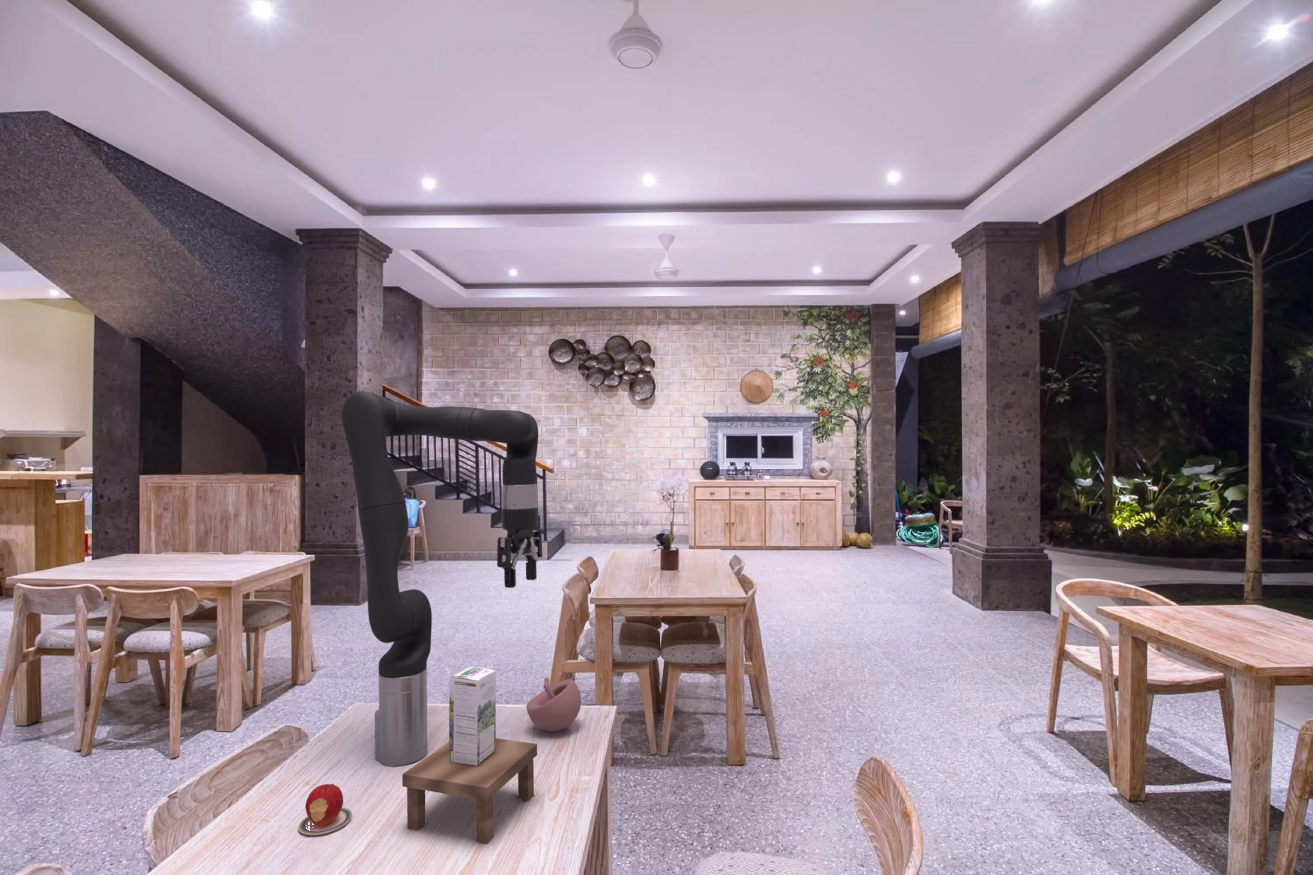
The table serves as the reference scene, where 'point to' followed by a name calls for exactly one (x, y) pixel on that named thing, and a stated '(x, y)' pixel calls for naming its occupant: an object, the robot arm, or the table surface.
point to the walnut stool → (470, 782)
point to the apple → (324, 811)
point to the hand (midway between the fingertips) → (521, 583)
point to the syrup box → (472, 715)
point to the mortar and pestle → (555, 706)
